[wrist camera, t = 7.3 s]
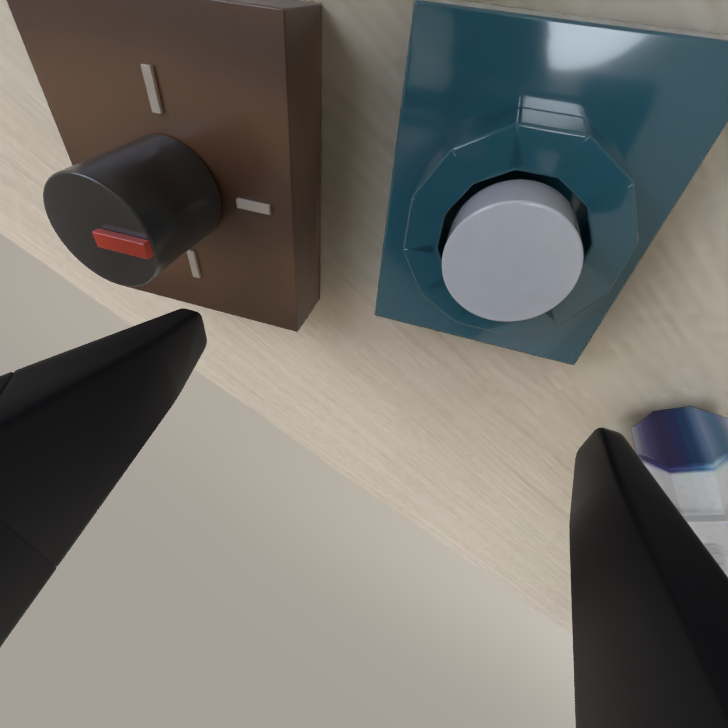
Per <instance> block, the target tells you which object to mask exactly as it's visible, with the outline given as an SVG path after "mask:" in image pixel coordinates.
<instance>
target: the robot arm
mask: <svg viewBox="0 0 728 728" xmlns="http://www.w3.org/2000/svg"><path fill="white" fill-rule="evenodd" d="M206 343H207V338H206V333H205V329H204V324H203V320H202V316H201V315H200V314H199V313H198V312H195V311H192V310H188V309H179V310H176V311H173V312H171V313H168V314H165V315H163V316H160V317H157V318H155V319H152V320H149V321H147V322H144V323H141V324H139V325H136V326H133V327H131V328H128V329H126V330H123V331H120V332H117V333H115V334H112V335H109V336H107V337H104V338H101V339H99V340H96V341H93V342H90V343H88V344H85V345H82V346H80V347H77V348H74V349H72V350H69V351H66V352H64V353H61V354H58V355H56V356H53V357H51V358H48V359H45V360H42V361H40V362H37V363H34V364H32V365H29V366H26V367H24V368H21V369H18V370H16V371H15V372H14V373H12V372H10V373H7V374H5V375H2V376H0V647H1V645H2V644H3V643H4V641H5V640H6V638H7V637H8V636H9V634H10V633H11V631H12V630H13V629H14V627H15V626H16V624H17V623H18V621H19V620H20V618H21V617H22V616H23V614H24V613H25V612H26V610H27V609H28V607H29V606H30V605H31V603H32V602H33V600H34V599H35V598H36V596H37V595H38V593H39V592H40V591H41V589H42V588H43V586H44V585H45V584H46V582H47V581H48V579H49V578H50V577H51V575H52V574H53V572H54V571H55V570H56V566H58V565H59V564H60V562H61V561H62V559H63V558H64V557H65V555H66V554H67V552H68V551H69V550H70V548H71V547H72V545H73V544H74V543H75V541H76V540H77V538H78V537H79V536H80V534H81V533H82V531H83V530H84V528H85V527H86V526H87V524H88V523H89V522H90V520H91V519H92V517H93V516H94V514H95V513H96V512H97V510H98V509H99V507H100V506H101V505H102V503H103V502H104V500H105V499H106V498H107V496H108V495H109V493H110V492H111V491H112V489H113V488H114V486H115V485H116V483H117V482H118V481H119V479H120V478H121V477H122V475H123V474H124V472H125V471H126V470H127V468H128V467H129V465H130V464H131V463H132V461H133V460H134V458H135V457H136V456H137V454H138V453H139V451H140V450H141V449H142V447H143V446H144V444H145V443H146V442H147V440H148V439H149V437H150V436H151V435H152V433H153V432H154V430H155V429H156V427H157V426H158V424H159V423H160V422H161V420H162V419H163V418H164V416H165V415H166V413H167V412H168V410H169V409H170V408H171V406H172V405H173V403H174V402H175V400H176V399H177V397H178V396H179V394H180V392H181V391H182V389H183V387H184V385H185V383H186V382H187V380H188V378H189V376H190V374H191V372H192V371H193V369H194V367H195V365H196V364H197V362H198V360H199V358H200V356H201V355H202V353H203V351H204V349H205V347H206ZM570 564H571V595H572V625H573V655H574V686H575V715H576V728H728V577H727V575H726V574H725V573H724V571H723V570H722V569H721V567H720V566H719V565H718V563H717V562H716V561H715V559H714V558H713V556H712V555H711V554H710V552H709V551H708V550H707V548H706V547H705V546H704V544H703V543H702V542H701V540H700V539H699V538H698V536H697V535H696V534H695V532H694V531H693V530H692V528H691V527H690V525H689V524H688V523H687V521H686V520H685V519H684V517H683V516H682V515H681V513H680V512H679V511H678V509H677V508H676V507H675V505H674V504H673V503H672V501H671V500H670V499H669V497H668V496H667V494H666V493H665V492H664V490H663V489H662V488H661V486H660V485H659V484H658V482H657V481H656V480H655V478H654V477H653V476H652V474H651V473H650V472H649V470H648V469H647V467H646V466H645V465H644V463H643V462H642V461H641V459H640V458H639V457H638V455H637V454H636V453H635V451H634V450H633V449H632V447H631V446H630V445H629V443H628V442H627V441H626V439H625V438H624V437H623V435H621V434H620V433H618V432H615V431H612V430H608V429H605V428H598V429H596V430H595V431H594V432H593V433H592V434H591V435H590V437H589V438H588V439H587V440H586V441H585V442H584V444H583V445H582V446H581V447H580V448H579V450H578V452H577V455H576V459H575V469H574V480H573V490H572V501H571V512H570Z"/></svg>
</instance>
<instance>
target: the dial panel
mask: <svg viewBox="0 0 728 728" xmlns="http://www.w3.org/2000/svg"><path fill="white" fill-rule="evenodd" d="M7 3H8V5H9V8H10V10H11V13H12V15H13V18H14V20H15V23H16V25H17V28H18V30H19V33H20V35H21V38H22V40H23V43H24V45H25V48H26V50H27V53H28V55H29V58H30V60H31V63H32V65H33V68H34V70H35V73H36V75H37V78H38V80H39V83H40V85H41V88H42V90H43V92H44V95H45V97H46V100H47V102H48V105H49V107H50V110H51V112H52V115H53V117H54V120H55V122H56V125H57V127H58V130H59V132H60V135H61V137H62V140H63V142H64V145H65V147H66V150H67V152H68V155H69V157H70V160H71V162H72V165H76V164H78V163H81V162H83V161H85V160H88V159H90V158H93V157H95V156H97V155H100V154H102V153H105V152H107V151H109V150H112V149H114V148H117V147H119V146H122V145H124V144H126V143H129V142H131V141H134V140H136V139H138V138H141V137H143V136H146V135H150V134H159V135H165V136H168V137H171V138H174V139H176V140H178V141H180V142H181V143H183V144H184V145H186V146H187V147H189V148H190V149H191V150H192V151H193V152H194V153H195V154H196V155H197V156H198V157H199V158H200V159H201V160H202V161H203V162H204V164H205V165H206V166H207V168H208V169H209V171H210V172H211V174H212V176H213V178H214V180H215V182H216V184H217V187H218V190H219V193H220V198H221V217H220V220H219V223H218V225H217V226H216V228H215V229H214V230H213V231H212V232H211V233H209V234H208V235H207V236H206V237H204V238H203V239H202V240H201V241H199V242H198V243H197V244H196V245H194V246H193V247H192V248H191V249H189V250H188V251H187V252H186V253H184V254H183V255H182V256H181V257H179V258H178V259H177V260H176V261H174V262H173V263H172V264H171V265H169V266H168V267H167V268H166V269H164V270H163V271H162V272H161V273H159V274H158V275H157V276H156V277H155V278H153V279H152V280H151V281H150V282H148V283H146V284H144V285H141V286H135V287H130V286H127V287H130V288H134V289H138V290H142V291H145V292H149V293H153V294H157V295H161V296H164V297H168V298H172V299H176V300H179V301H183V302H187V303H191V304H195V305H198V306H202V307H206V308H210V309H213V310H217V311H221V312H225V313H229V314H232V315H236V316H240V317H244V318H247V319H251V320H255V321H259V322H263V323H266V324H270V325H274V326H278V327H281V328H285V329H289V330H293V331H296V332H298V330H299V329H300V327H301V326H302V324H303V323H304V321H305V320H306V318H307V317H308V315H309V314H310V312H311V311H312V309H313V308H314V306H315V305H316V303H317V302H318V300H319V298H320V166H321V20H322V5H321V4H320V3H315V2H308V1H300V0H7Z"/></svg>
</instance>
